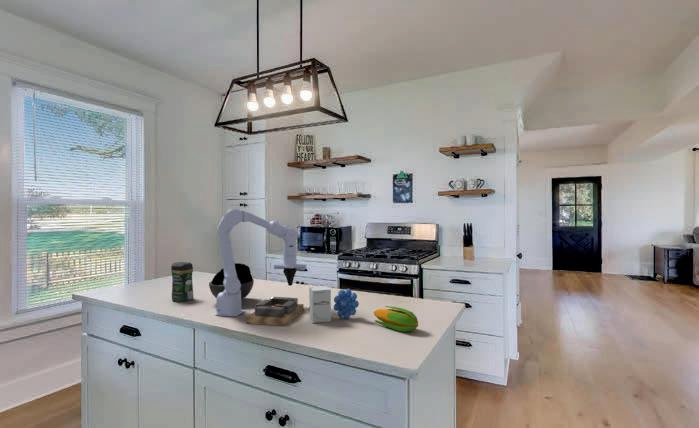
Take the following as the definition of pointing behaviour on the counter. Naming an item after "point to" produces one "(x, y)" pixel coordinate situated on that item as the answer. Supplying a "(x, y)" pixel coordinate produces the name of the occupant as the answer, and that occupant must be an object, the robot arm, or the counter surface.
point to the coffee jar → (182, 281)
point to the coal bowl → (242, 276)
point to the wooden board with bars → (274, 313)
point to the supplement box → (320, 304)
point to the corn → (397, 319)
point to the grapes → (346, 303)
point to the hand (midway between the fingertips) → (290, 285)
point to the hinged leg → (282, 300)
